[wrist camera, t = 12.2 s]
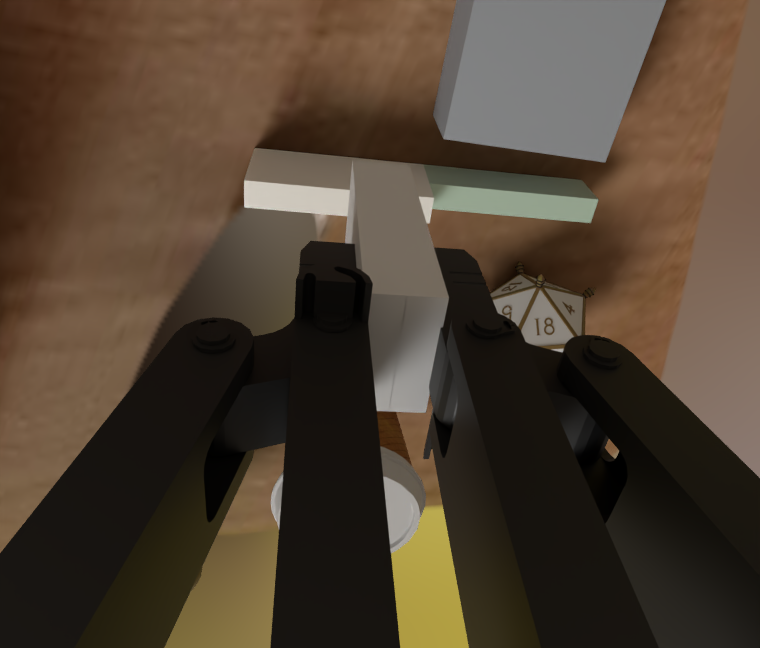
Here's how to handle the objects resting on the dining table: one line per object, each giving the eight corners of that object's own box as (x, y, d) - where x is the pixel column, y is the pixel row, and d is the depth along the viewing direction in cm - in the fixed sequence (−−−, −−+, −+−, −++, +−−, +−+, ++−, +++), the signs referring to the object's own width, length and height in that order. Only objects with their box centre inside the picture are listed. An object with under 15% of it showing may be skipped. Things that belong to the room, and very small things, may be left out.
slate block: (432, 113, 36) (443, 138, 32) (464, -45, 32) (482, -36, 28) (578, 135, 37) (605, 162, 34) (629, -14, 33) (666, -2, 29)
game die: (521, 252, 46) (644, 264, 37) (522, 363, 48) (639, 397, 40) (424, 269, 41) (541, 287, 33) (430, 392, 43) (541, 437, 35)
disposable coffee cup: (430, 404, 49) (454, 534, 39) (325, 450, 51) (323, 585, 41) (370, 317, 44) (380, 441, 34) (257, 373, 46) (236, 504, 36)
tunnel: (254, 172, 37) (244, 207, 33) (257, -166, 28) (243, -176, 24) (574, 202, 39) (602, 238, 35) (671, -102, 31) (723, -101, 26)
